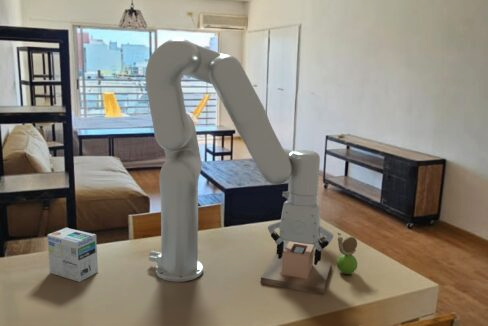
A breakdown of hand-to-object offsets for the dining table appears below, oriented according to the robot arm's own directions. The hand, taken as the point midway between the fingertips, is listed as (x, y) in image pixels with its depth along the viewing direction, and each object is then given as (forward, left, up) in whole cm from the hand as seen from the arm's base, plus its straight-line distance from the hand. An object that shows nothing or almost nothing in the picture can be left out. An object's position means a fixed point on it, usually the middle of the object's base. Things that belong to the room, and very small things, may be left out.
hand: (298, 259), depth 117 cm
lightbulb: (-6, +15, -4) cm, 17 cm away
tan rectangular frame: (0, 0, -3) cm, 3 cm away
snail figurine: (+12, +6, -4) cm, 14 cm away
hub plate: (0, 0, -4) cm, 4 cm away
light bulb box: (-55, -21, -5) cm, 59 cm away
